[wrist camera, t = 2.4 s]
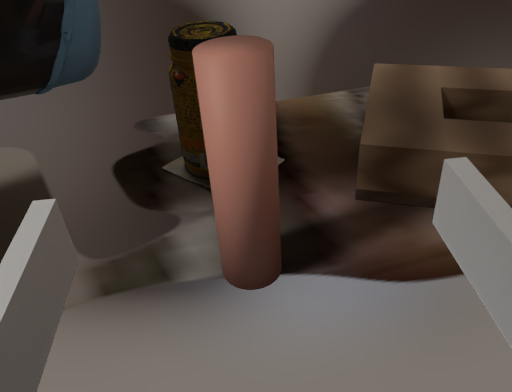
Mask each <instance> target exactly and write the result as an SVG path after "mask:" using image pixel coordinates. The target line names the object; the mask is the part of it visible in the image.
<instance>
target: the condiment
mask: <svg viewBox="0 0 512 392" xmlns="http://www.w3.org/2000/svg"><path fill="white" fill-rule="evenodd" d="M236 35H237V34H236V30H235V29H234V28H233V27H232V26H231V25H229V24H227V23H224V22H218V21H201V22H193V23H188V24H184V25H181V26H178V27H176V28H174V29H173V30H172V31H171V32H170V34H169V37H168V42H169V47H170V57H171V60H172V61H173V62H172V65H171V67H170V70H169V78H170V86H171V90H172V96H173V102H174V109H175V113H176V120H177V125H178V132H179V138H180V143H181V150H182V155H183V156H182V157H180V158H178V159H176V160H173V161H172V162H170V163H169V164H167V165H165V166H164V167H162V168H163V169H165V170H167V171H169V172H171V173H173V174H175V175H179V176H180V177H182V178H184V179H187V180H189V181H191V182H195V183H197V184H201V185H203V186H205V187H207V188H209V189H211V184H210V177H209V170H208V163H207V156H206V149H205V141H204V134H203V127H202V120H201V113H200V106H199V99H198V91H197V84H196V77H195V70H194V63H193V56H192V50H193V49H194V48H195V47H196V46H197V45H199V44H200V43H202V42H205V41H208V40H211V39H214V38H219V37H225V36H236ZM284 160H285V159H282V158H280V157H278V165H279V164H280V163H282V162H283V161H284Z"/></svg>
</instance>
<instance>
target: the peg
mask: <svg viewBox="0 0 512 392" xmlns="http://www.w3.org/2000/svg"><path fill="white" fill-rule="evenodd" d="M192 56H193V63H194V70H195V77H196V84H197V91H198V99H199V106H200V113H201V120H202V127H203V134H204V141H205V149H206V156H207V163H208V170H209V177H210V184H211V191H212V199H213V206H214V213H215V220H216V227H217V234H218V241H219V249H220V256H221V263H222V270H223V275H224V277H225V279H226V280H227V281H228V282H229V283H230V284H231V285H233V286H235V287H237V288H240V289H246V290H254V289H260V288H264V287H266V286H268V285H270V284H272V283H273V282H274V281H275V280H276V279H277V278H278V277H279V275H280V273H281V270H282V262H281V235H280V208H279V181H278V154H277V127H276V100H275V74H274V47H273V44H272V43H271V42H270V41H269V40H267V39H264V38H260V37H255V36H243V35H237V36H225V37H219V38H214V39H211V40H208V41H205V42H202V43H200V44H199V45H197V46H196V47H195V48H194V49H193V50H192Z"/></svg>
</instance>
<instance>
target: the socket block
mask: <svg viewBox="0 0 512 392" xmlns="http://www.w3.org/2000/svg"><path fill="white" fill-rule="evenodd" d="M461 157H467V158H468V159H469V161H470V162H471V163H472V164H473V165H474V166H475V167H476V169H477V170H478V171H479V172H480V173H481V174H482V175H483V176H484V178H485V179H486V180H487V181H488V182H489V183H490V184H491V186H492V187H493V188H494V189H495V190H496V191H497V192H498V193H499V195H500V196H501V197H502V198H503V199H504V200H505V201H506V202H507V204H508V205H509V206H510V207H511V208H512V69H501V68H476V67H450V66H425V65H400V64H374V70H373V75H372V80H371V86H370V91H369V96H368V102H367V107H366V113H365V118H364V124H363V129H362V134H361V140H360V147H359V159H358V171H357V184H356V196H355V199H359V200H368V201H378V202H387V203H396V204H405V205H415V206H424V207H433V208H435V205H436V200H437V195H438V190H439V184H440V179H441V174H442V168H443V163H444V159H451V158H461Z"/></svg>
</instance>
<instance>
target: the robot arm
mask: <svg viewBox="0 0 512 392" xmlns="http://www.w3.org/2000/svg"><path fill="white" fill-rule="evenodd" d="M100 52H101V22H100V10H99V2H98V0H0V100H4V99H9V98H15V97H20V96H26V95H31V94H37V95H38V94H44V93H46V92H48V91H50V90H51V89H52V88H55V87H59V86H63V85H67V84H71V83H75V82H79V81H82V80H84V79H86V78H87V77H89V76H90V75H91V74H92V73H93V72H94V70H95V69H96V67H97V65H98V62H99V58H100ZM432 223H433V225H434V226H435V228H436V229H437V231H438V233H439V234H440V236H441V237H442V239H443V241H444V242H445V244H446V245H447V247H448V248H449V250H450V252H451V253H452V255H453V256H454V258H455V260H456V261H457V263H458V264H459V266H460V268H461V269H462V271H463V272H464V274H465V276H466V277H467V278H468V280H469V282H470V284H471V285H472V287H473V288H474V290H475V291H476V293H477V295H478V296H479V298H480V299H481V301H482V303H483V304H484V306H485V307H486V309H487V311H488V312H489V314H490V315H491V317H492V318H493V320H494V322H495V323H496V325H497V327H498V328H499V330H500V331H501V333H502V335H503V336H504V338H505V339H506V341H507V343H508V344H509V346H510V347H511V349H512V208H511V207H510V206H509V205H508V204H507V202H506V201H505V200H504V199H503V198H502V197H501V196H500V195H499V193H498V192H497V191H496V190H495V189H494V188H493V187H492V186H491V184H490V183H489V182H488V181H487V180H486V179H485V178H484V176H483V175H482V174H481V173H480V172H479V171H478V170H477V169H476V167H475V166H474V165H473V164H472V163H471V162H470V161H469V159H468V158H467V157H461V158H451V159H444V163H443V168H442V174H441V179H440V184H439V190H438V195H437V200H436V205H435V211H434V216H433V221H432ZM78 262H79V258H78V255H77V253H76V250H75V247H74V245H73V242H72V239H71V237H70V234H69V232H68V229H67V226H66V224H65V221H64V218H63V216H62V213H61V210H60V208H59V205H58V203H57V200H56V199H46V200H36V201H32V203H31V205H30V207H29V209H28V211H27V213H26V215H25V217H24V219H23V221H22V223H21V224H20V226H19V228H18V230H17V232H16V234H15V236H14V238H13V240H12V242H11V244H10V246H9V248H8V250H7V252H6V253H5V255H4V257H3V259H2V261H1V263H0V392H37V388H38V386H39V383H40V380H41V377H42V374H43V370H44V367H45V364H46V361H47V358H48V355H49V352H50V349H51V346H52V343H53V339H54V336H55V333H56V330H57V327H58V324H59V321H60V318H61V315H62V312H63V308H64V305H65V302H66V299H67V296H68V293H69V290H70V287H71V284H72V280H73V277H74V274H75V271H76V268H77V265H78Z"/></svg>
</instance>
